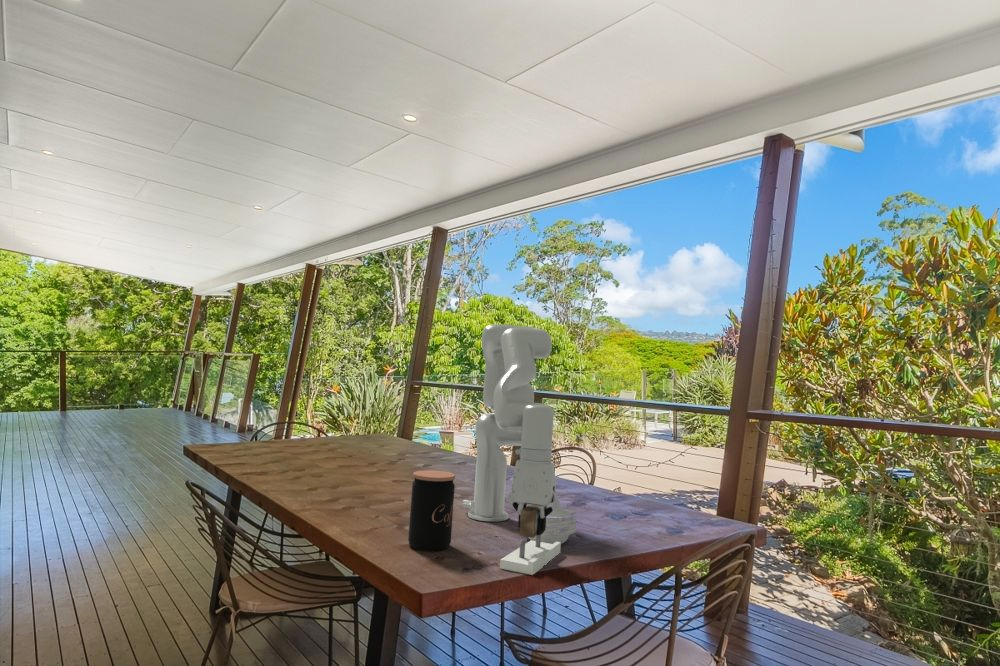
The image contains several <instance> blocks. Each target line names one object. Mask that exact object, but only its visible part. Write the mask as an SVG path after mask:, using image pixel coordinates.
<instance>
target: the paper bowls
mask: <svg viewBox="0 0 1000 666" xmlns="http://www.w3.org/2000/svg"><path fill="white" fill-rule="evenodd" d="M576 531H577V513H576V512H574V511H573V510H571V509H566V508H562V507H560V508H558V509H556V510H554V511H552V512H551V513H550V514H549V515H548V516H547V517H546V529H545V531H544V532H543V534H541V542H543V543H549V544H554V543H555V542H561V545H562V544H564V543H566V541H567V540H568V538H569V536H570V535H573V534H575V533H576ZM527 538H528V539H529V541H531V540H532V541H536V536H535V537H534V538H531V537H527Z"/></svg>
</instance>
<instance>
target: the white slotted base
mask: <svg viewBox="0 0 1000 666" xmlns="http://www.w3.org/2000/svg"><path fill="white" fill-rule="evenodd" d="M561 546H562V544H561V542H555V543H554V544H549V543H543V542H541V535H537V536H536V541H532V540H529V541H528V542H526V539H523V538H521V539H519V547H518V548H517V549H515V550H513V551H511V552H510V553H509V554H507V555H505V556H504V557H502V558H500V559H499V561H500V563H499V569H501V570H506V571H510V572H515V573H521V574H525V575H531V576H533V575H535V574H536V573H537V572H538V571H540V570H541V569H543V566H544V565H545V566H546V565H548V564H549V563H550V562H551V561H552V560H551V559H552V558H554V557H555V556H556V555H558V554H559V553H560V554H561ZM560 554H559V555H560ZM559 555H558V556H559ZM555 558H556V557H555ZM555 558H554V559H555ZM550 560H551V561H550ZM549 561H550V562H549ZM548 562H549V563H548ZM547 563H548V564H547ZM545 566H544V567H545Z"/></svg>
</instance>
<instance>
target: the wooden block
mask: <svg viewBox="0 0 1000 666" xmlns="http://www.w3.org/2000/svg"><path fill="white" fill-rule="evenodd" d="M539 515H540V512H539V505H532V504H528V505H527V507H525V508H524V509H522V510H521V514H520V527H519V529H520V532H519V536H521V537H524V538H525V537H526V538H528V537H531V538H534V537H535V536H537V523H538V518H539Z"/></svg>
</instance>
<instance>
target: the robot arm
mask: <svg viewBox="0 0 1000 666" xmlns="http://www.w3.org/2000/svg"><path fill="white" fill-rule="evenodd" d="M552 344H553V343H552V339H551V336H550V333H548V331H546V330H545V329H541V328H537V327H533V326H523V325H514V324H513V325H512V324H511V325H510V324H498V323H497V324H489V325H487V326H486V327H484V329H483V330H482V333H481V348H482V349H481V350H482V352H483V353H482V354H483V357H484V358H483V359H484V363H485V367H484V379H483V380H484V381H483V391H482V393H483V394H482V397H483V398H482V399H483V400H482V402H483V405H484V406H485V408H487V409H489V410H493V412H494V413H488V414H487V413H486V414H482V415H481V416H479V417H478V418H477V420H476V423H475V435H476V436H475V437H476V462H475V479H474V490H473V491H474V493H473V500H470V499H469V500H468V499H463V500H462V507H463V508H469V510H468V512H467V516H468V518H470V519H471V520H477V521H480V522H481V521H482V522H489V523H490V522H493V523H494V522H495V523H496V522H504V521H507V520H508V519H509V518H510V516H509V513H508V512H506V511H505V502H506V501H507V502H508V503H509V504H510V505H512V507H513V508H514V510H515V511H516V515H518V523H517V525H518V528H519V529H518V530H519V533H520V514H521V510H522V509H524V508H525V507H527V506H528V505H538V506H539V512H540V515H539V518H538V523H537V535H541V534H543V532H544V531H545V529H546V517H547V516H548V515H549V514H550V513H551V512H552V511H554V510H556V509H558V508H562V504H561V502H560V500H559V498H558V496H557V494H556V491H557V490H556V488H557V487H556V473H555V465H554V462H552V454H553V453H552V449H553V434H554V433H553V432H554V418H555V417H554V415H555V413H554V412H555V411H554V409H553V407H552V406H549V405H546V404H544V403H542V402H541V403H540V402H535V393H534V392H535V391H534V387H533V385H531V383H530V382H533V380H534V379H535V378H536V376H537V372H538V371H537V365H536V362H535V359H540V360H541V359H542V360H544V359H547V358H548V357H549V356H550V355H551V352H552V346H553V345H552ZM501 446H502V447H503V446H508V447H509V446H510V447H511V446H512V447H514V446H515V447H520V448H515V455H518V456H519V458H520V459H517V460H516V462H515V466H514V470H513V476H512V483H511V489H510V492H509V494H507V495H508V496H507V497H506V485H507V484H506V482H507V468H508V467H507V466H508V461H507V460H508V459H507V457H506V455H505V453H504V452H503V451H502V449H501ZM505 499H506V500H505ZM550 504H552V505H551V506H549V505H550Z"/></svg>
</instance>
